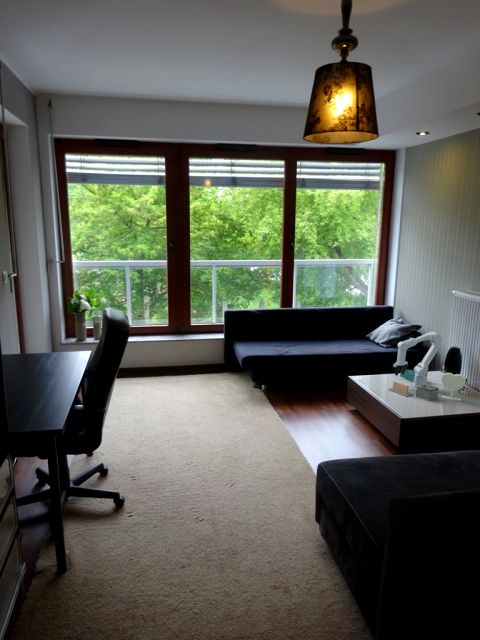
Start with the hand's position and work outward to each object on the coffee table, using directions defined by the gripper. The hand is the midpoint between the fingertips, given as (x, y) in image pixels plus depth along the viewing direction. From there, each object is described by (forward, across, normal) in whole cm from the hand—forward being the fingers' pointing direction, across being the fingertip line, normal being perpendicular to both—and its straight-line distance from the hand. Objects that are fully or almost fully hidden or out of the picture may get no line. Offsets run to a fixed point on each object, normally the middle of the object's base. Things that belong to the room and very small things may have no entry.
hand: (399, 374), depth 346 cm
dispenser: (+9, 0, +25) cm, 27 cm away
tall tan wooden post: (+9, +10, +9) cm, 16 cm away
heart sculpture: (+10, -14, +35) cm, 39 cm away
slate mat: (+9, +10, +10) cm, 16 cm away
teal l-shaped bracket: (+10, -26, -6) cm, 28 cm away
